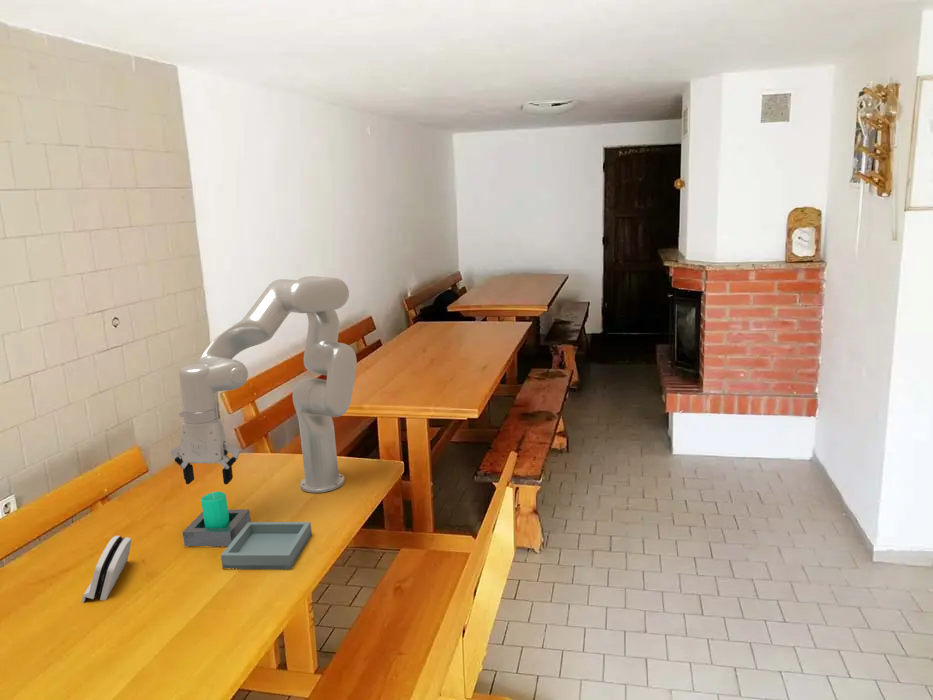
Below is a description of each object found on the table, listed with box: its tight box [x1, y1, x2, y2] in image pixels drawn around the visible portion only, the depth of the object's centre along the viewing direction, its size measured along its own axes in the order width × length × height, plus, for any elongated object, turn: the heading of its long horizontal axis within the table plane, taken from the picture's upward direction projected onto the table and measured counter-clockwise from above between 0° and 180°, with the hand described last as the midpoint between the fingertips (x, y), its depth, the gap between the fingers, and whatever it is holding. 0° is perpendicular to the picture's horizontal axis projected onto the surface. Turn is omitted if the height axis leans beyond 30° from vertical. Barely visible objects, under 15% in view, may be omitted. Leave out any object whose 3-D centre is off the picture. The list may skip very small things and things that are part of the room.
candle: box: [200, 490, 230, 528], centre depth 178 cm, size 6×6×12 cm
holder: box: [182, 508, 252, 548], centre depth 179 cm, size 12×12×4 cm
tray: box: [220, 521, 313, 570], centre depth 169 cm, size 16×16×4 cm
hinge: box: [81, 535, 132, 604], centre depth 160 cm, size 17×5×10 cm, turn 10°
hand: (209, 482), depth 175 cm, fingers open, 9 cm apart
